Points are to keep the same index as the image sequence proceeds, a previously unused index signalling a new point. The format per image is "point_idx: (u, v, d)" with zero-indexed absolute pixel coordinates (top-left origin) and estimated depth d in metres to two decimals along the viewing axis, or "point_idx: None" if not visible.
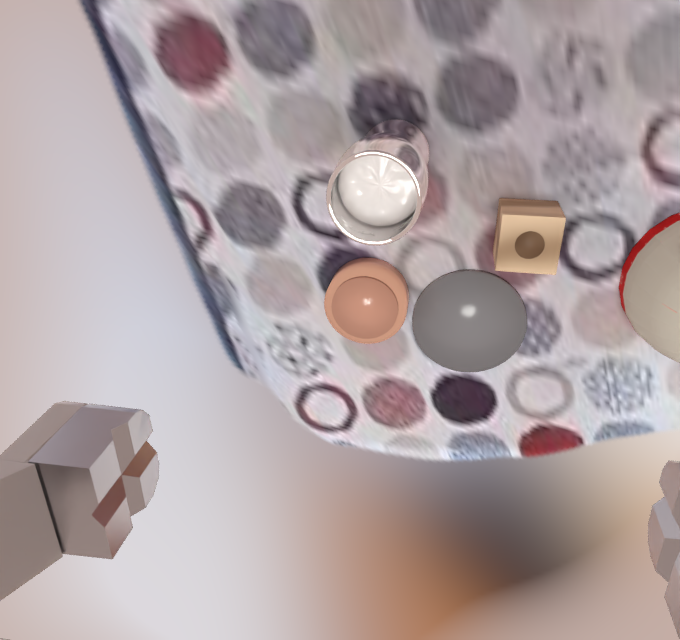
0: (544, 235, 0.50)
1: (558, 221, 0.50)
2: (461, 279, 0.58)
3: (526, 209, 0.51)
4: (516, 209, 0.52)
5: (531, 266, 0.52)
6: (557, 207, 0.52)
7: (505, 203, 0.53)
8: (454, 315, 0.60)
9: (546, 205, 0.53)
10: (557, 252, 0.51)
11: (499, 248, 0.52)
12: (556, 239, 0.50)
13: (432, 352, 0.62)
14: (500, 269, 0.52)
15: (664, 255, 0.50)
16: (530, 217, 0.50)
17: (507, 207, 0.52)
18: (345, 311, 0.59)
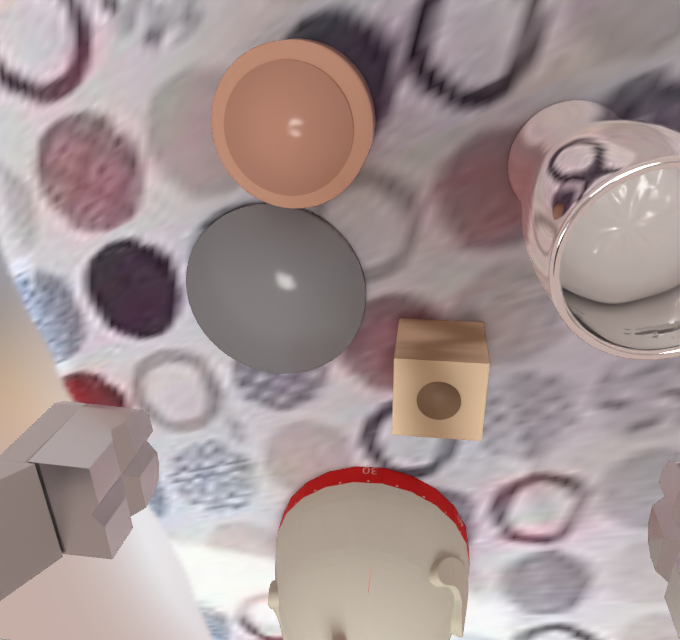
0: (454, 418, 0.34)
1: (476, 433, 0.34)
2: (350, 280, 0.36)
3: None
4: None
5: (403, 404, 0.34)
6: None
7: None
8: (285, 273, 0.36)
9: None
10: (427, 434, 0.35)
11: (432, 362, 0.32)
12: (448, 432, 0.34)
13: (211, 241, 0.36)
14: (396, 365, 0.33)
15: (424, 538, 0.39)
16: (483, 399, 0.33)
17: None
18: (276, 91, 0.29)
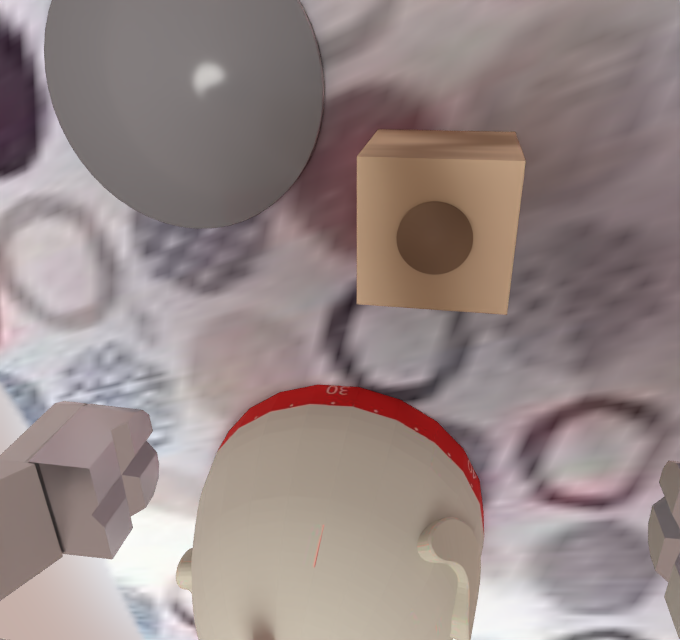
0: (461, 271, 0.20)
1: (497, 299, 0.20)
2: (297, 55, 0.22)
3: None
4: None
5: (375, 247, 0.20)
6: None
7: None
8: (193, 46, 0.22)
9: None
10: (415, 303, 0.21)
11: (423, 161, 0.18)
12: (450, 299, 0.20)
13: None
14: (361, 170, 0.19)
15: (412, 488, 0.25)
16: (511, 234, 0.19)
17: None
18: None
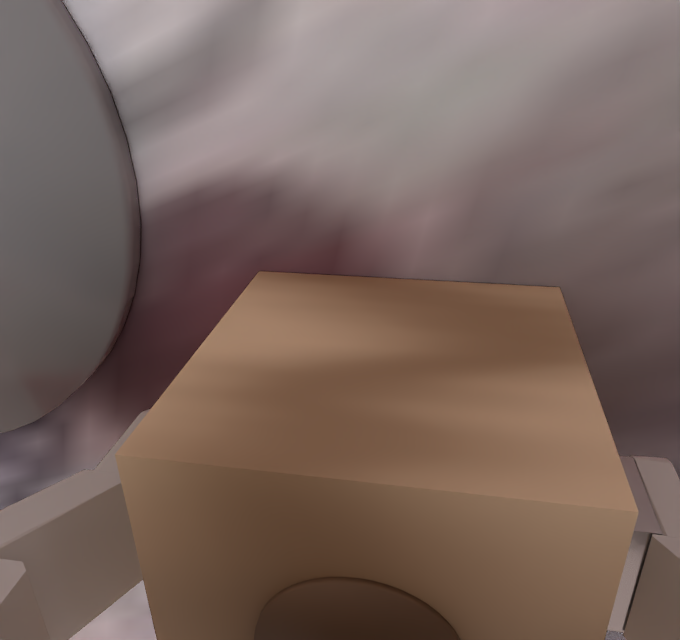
0: None
1: None
2: (55, 117, 0.09)
3: None
4: None
5: None
6: None
7: None
8: None
9: None
10: None
11: (310, 483, 0.06)
12: None
13: None
14: (134, 487, 0.06)
15: None
16: None
17: None
18: None
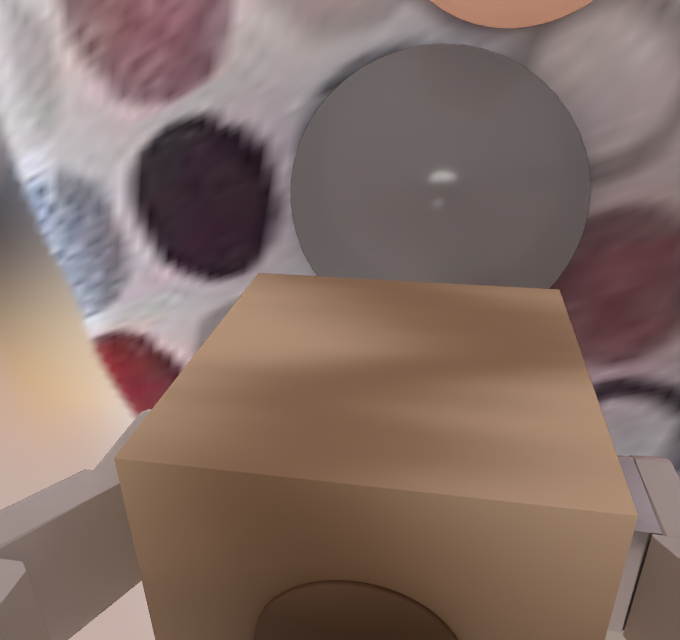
0: None
1: None
2: (568, 179, 0.22)
3: None
4: None
5: None
6: None
7: None
8: (457, 167, 0.22)
9: None
10: None
11: (309, 487, 0.06)
12: None
13: (338, 113, 0.22)
14: (133, 490, 0.06)
15: None
16: None
17: None
18: None
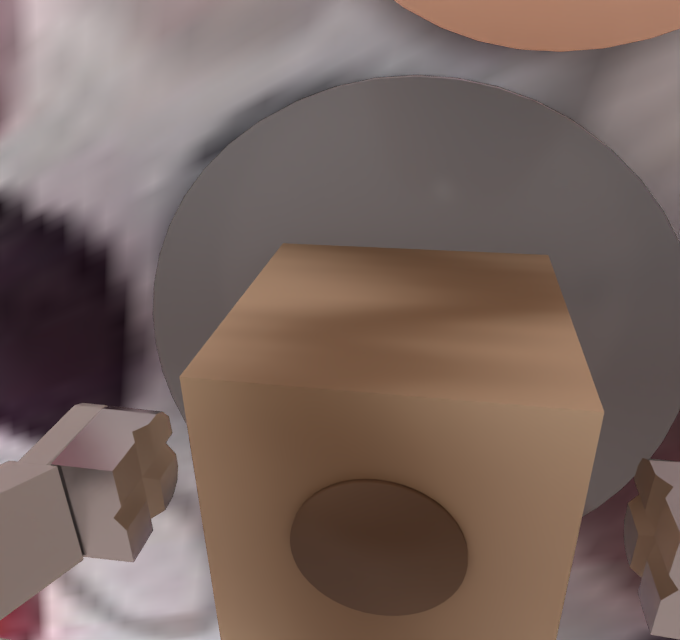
0: (441, 611, 0.09)
1: None
2: (655, 328, 0.11)
3: None
4: None
5: (246, 553, 0.09)
6: None
7: None
8: None
9: None
10: None
11: (340, 397, 0.07)
12: None
13: (224, 202, 0.12)
14: (194, 405, 0.08)
15: None
16: (560, 557, 0.08)
17: None
18: None
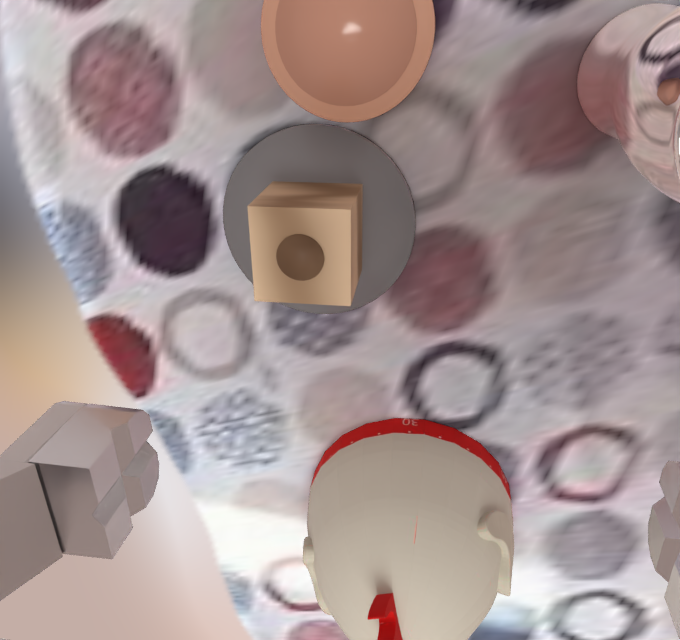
0: (319, 278, 0.30)
1: (343, 296, 0.31)
2: (400, 209, 0.33)
3: (355, 239, 0.31)
4: (355, 224, 0.31)
5: (263, 263, 0.31)
6: (357, 279, 0.33)
7: (358, 200, 0.32)
8: None
9: (358, 261, 0.33)
10: (292, 299, 0.31)
11: (288, 209, 0.29)
12: (314, 296, 0.31)
13: (251, 166, 0.34)
14: (250, 214, 0.29)
15: (471, 490, 0.36)
16: (347, 254, 0.30)
17: (356, 208, 0.31)
18: None
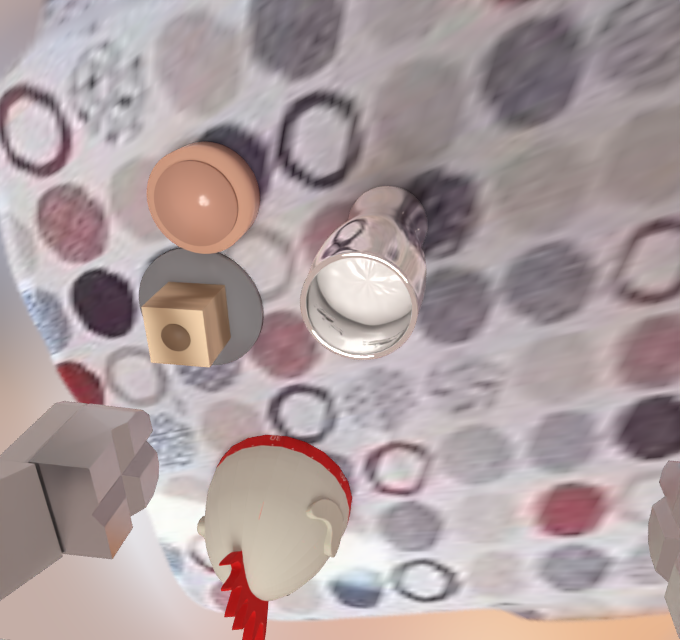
0: (188, 350, 0.48)
1: (205, 361, 0.48)
2: (250, 301, 0.51)
3: (213, 324, 0.49)
4: (212, 315, 0.49)
5: (154, 340, 0.48)
6: (222, 346, 0.51)
7: (218, 298, 0.50)
8: None
9: (222, 335, 0.51)
10: (174, 362, 0.49)
11: (166, 309, 0.47)
12: (187, 360, 0.49)
13: (154, 272, 0.51)
14: (143, 311, 0.47)
15: (306, 485, 0.54)
16: (203, 336, 0.47)
17: (213, 305, 0.48)
18: (186, 180, 0.44)
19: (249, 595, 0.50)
